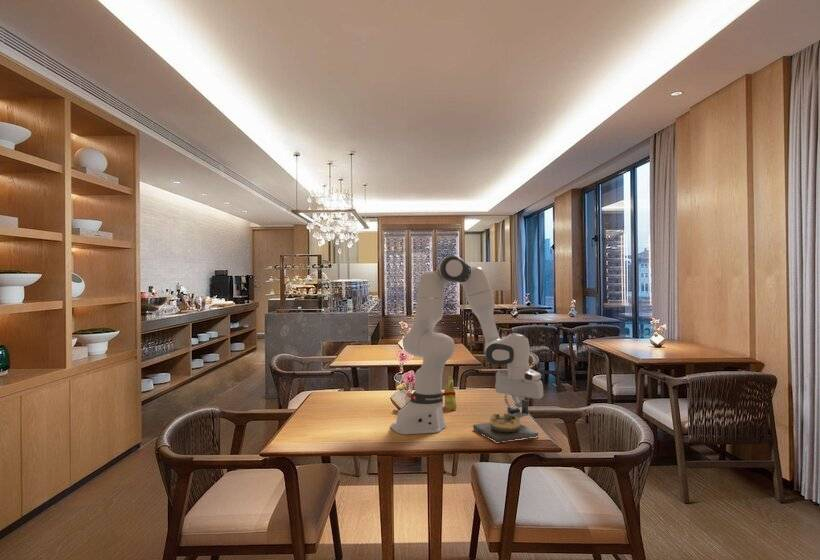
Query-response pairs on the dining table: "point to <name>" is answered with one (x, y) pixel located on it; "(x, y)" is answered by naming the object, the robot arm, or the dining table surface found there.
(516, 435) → the plate
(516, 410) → the watch
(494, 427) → the ball knob lever
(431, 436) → the dining table surface
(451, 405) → the chocolate bunny
